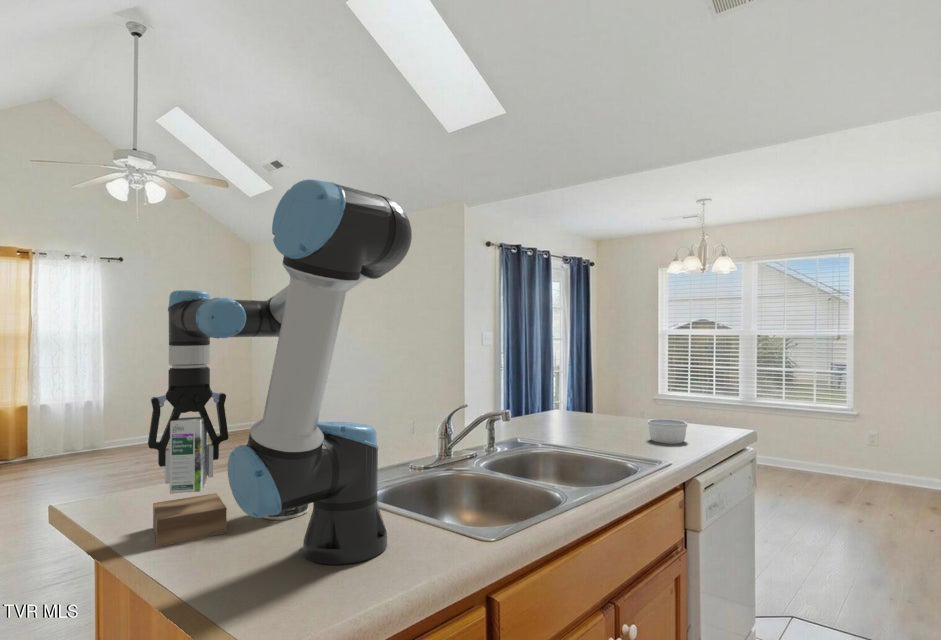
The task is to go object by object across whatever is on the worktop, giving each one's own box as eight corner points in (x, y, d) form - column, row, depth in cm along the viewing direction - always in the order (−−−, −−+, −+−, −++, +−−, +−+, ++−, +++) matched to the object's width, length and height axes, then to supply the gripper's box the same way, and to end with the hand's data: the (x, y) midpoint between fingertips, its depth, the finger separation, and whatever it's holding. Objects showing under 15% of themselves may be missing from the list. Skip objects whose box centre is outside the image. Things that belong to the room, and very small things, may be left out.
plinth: (226, 532, 108) (226, 507, 109) (157, 546, 102) (157, 519, 102) (216, 516, 118) (216, 493, 119) (153, 527, 112) (153, 503, 112)
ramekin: (685, 438, 199) (685, 419, 199) (689, 445, 186) (689, 425, 186) (647, 436, 202) (647, 418, 203) (648, 443, 190) (648, 423, 190)
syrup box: (168, 494, 107) (168, 420, 107) (178, 485, 113) (178, 416, 113) (200, 492, 108) (200, 419, 108) (208, 484, 114) (208, 414, 114)
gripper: (238, 363, 119) (238, 467, 119) (131, 367, 108) (130, 482, 108) (245, 365, 113) (245, 475, 113) (132, 369, 102) (131, 492, 102)
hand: (189, 478), depth 110 cm, fingers closed on syrup box, 7 cm apart
